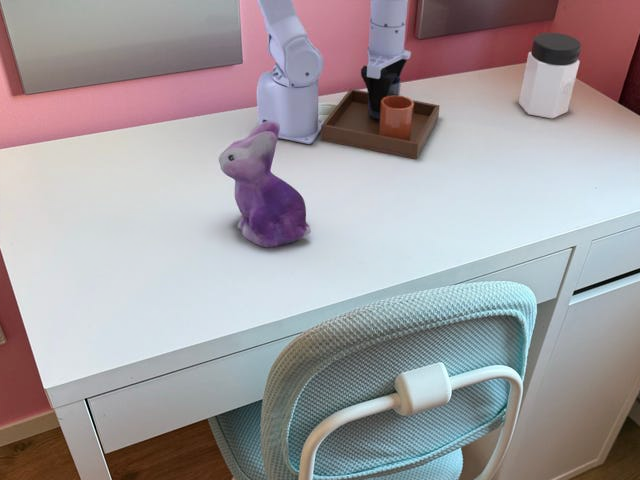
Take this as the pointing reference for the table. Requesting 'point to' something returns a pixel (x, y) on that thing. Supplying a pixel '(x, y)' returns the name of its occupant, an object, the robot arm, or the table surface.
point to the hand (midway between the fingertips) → (382, 104)
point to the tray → (376, 126)
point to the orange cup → (396, 117)
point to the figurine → (263, 190)
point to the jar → (550, 75)
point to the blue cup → (393, 91)
